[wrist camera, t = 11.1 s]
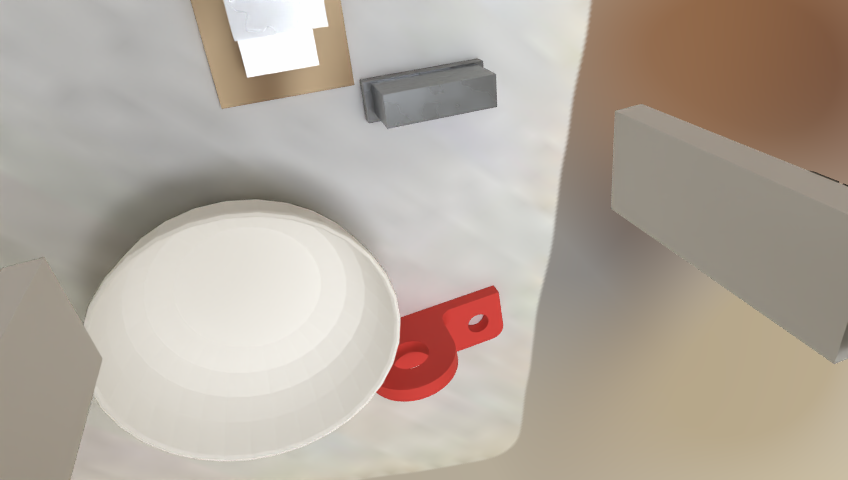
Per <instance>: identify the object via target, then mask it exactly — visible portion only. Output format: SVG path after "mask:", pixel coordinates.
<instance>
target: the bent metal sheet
mask: <svg viewBox="0 0 848 480" xmlns="http://www.w3.org/2000/svg"><path fill="white" fill-rule="evenodd" d="M223 1H224V5H225V8H226V12H227V16H228V20H229V23H230V27H231V31H232V35H233V39H234V41H238V44H239V47H240V51H241V55H242V59H243V63H244V66H245V70H246V74H247V78H248V77H254V76H260V75H265V74H271V73H277V72H282V71H288V70H294V69H299V68H305V67H311V66H316V65H319V61H318V56H317V50H316V45H315V40H314V35H313V30H312V29H314V28H320V27H326V26H328V21H327V16H326V10H325V5H324V0H223Z"/></svg>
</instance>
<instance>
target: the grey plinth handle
mask: <svg viewBox="0 0 848 480" xmlns="http://www.w3.org/2000/svg"><path fill="white" fill-rule="evenodd" d="M360 83H361V90H362V96H363V102H364V109H365V115H366V120H367V121H368V123H373V122H378V121H381V122H382V123H383V124H384V125H385V126H386V127H387V129H388V128H393V127H398V126H403V125H408V124H413V123H418V122H423V121H429V120H434V119H439V118H444V117H449V116H454V115H459V114H464V113H469V112H474V111H479V110H484V109H489V108H494V107H497V92H496V74H495V73H493V72H491V71H489V70H487V69H485V68H483V61H482V60H480V59H473V60H468V61H462V62H457V63H451V64H445V65H440V66H434V67H429V68H423V69H418V70H412V71H406V72H401V73H395V74H390V75H384V76H378V77H373V78H367V79H362V80H360Z"/></svg>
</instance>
